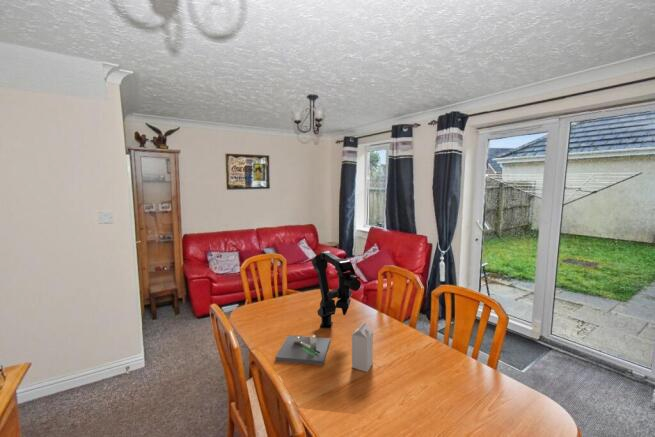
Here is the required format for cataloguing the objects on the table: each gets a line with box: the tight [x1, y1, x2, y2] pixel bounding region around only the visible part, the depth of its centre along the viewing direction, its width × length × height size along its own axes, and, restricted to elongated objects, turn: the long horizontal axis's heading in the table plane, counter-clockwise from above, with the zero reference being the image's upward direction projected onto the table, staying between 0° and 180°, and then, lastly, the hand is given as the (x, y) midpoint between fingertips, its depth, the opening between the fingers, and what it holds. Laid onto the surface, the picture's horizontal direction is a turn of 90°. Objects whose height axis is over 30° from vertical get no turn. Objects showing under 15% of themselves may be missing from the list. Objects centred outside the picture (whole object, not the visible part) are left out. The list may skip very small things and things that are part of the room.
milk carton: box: [351, 321, 374, 373], centre depth 130 cm, size 7×7×19 cm
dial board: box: [274, 335, 331, 366], centre depth 144 cm, size 20×22×2 cm
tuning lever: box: [293, 334, 320, 353], centre depth 142 cm, size 17×4×7 cm, turn 47°
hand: (344, 314), depth 153 cm, fingers closed
